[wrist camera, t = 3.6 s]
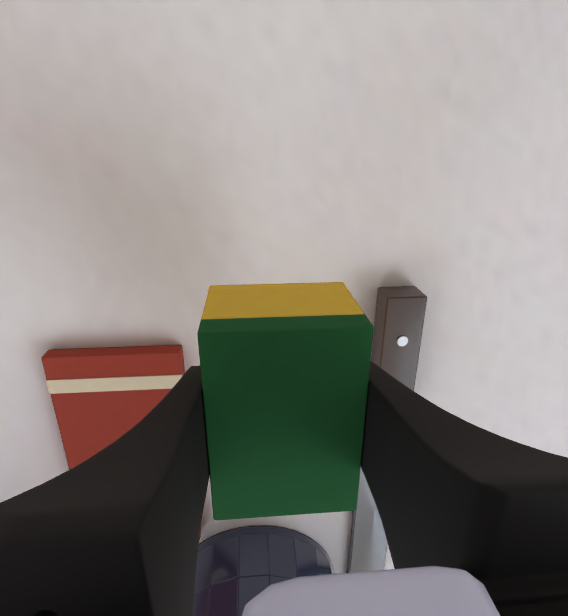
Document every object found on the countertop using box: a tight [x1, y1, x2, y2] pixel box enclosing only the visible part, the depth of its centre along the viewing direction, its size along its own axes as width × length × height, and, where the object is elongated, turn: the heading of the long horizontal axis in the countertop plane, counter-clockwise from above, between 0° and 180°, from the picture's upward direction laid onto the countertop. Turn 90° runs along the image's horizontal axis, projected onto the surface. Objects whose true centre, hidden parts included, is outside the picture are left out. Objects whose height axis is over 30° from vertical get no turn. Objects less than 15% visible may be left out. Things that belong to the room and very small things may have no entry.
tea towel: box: [42, 345, 201, 540], centre depth 21 cm, size 6×12×1 cm, turn 0°
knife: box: [348, 286, 427, 573], centre depth 22 cm, size 2×20×2 cm, turn 0°
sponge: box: [198, 282, 374, 520], centre depth 12 cm, size 4×6×3 cm
